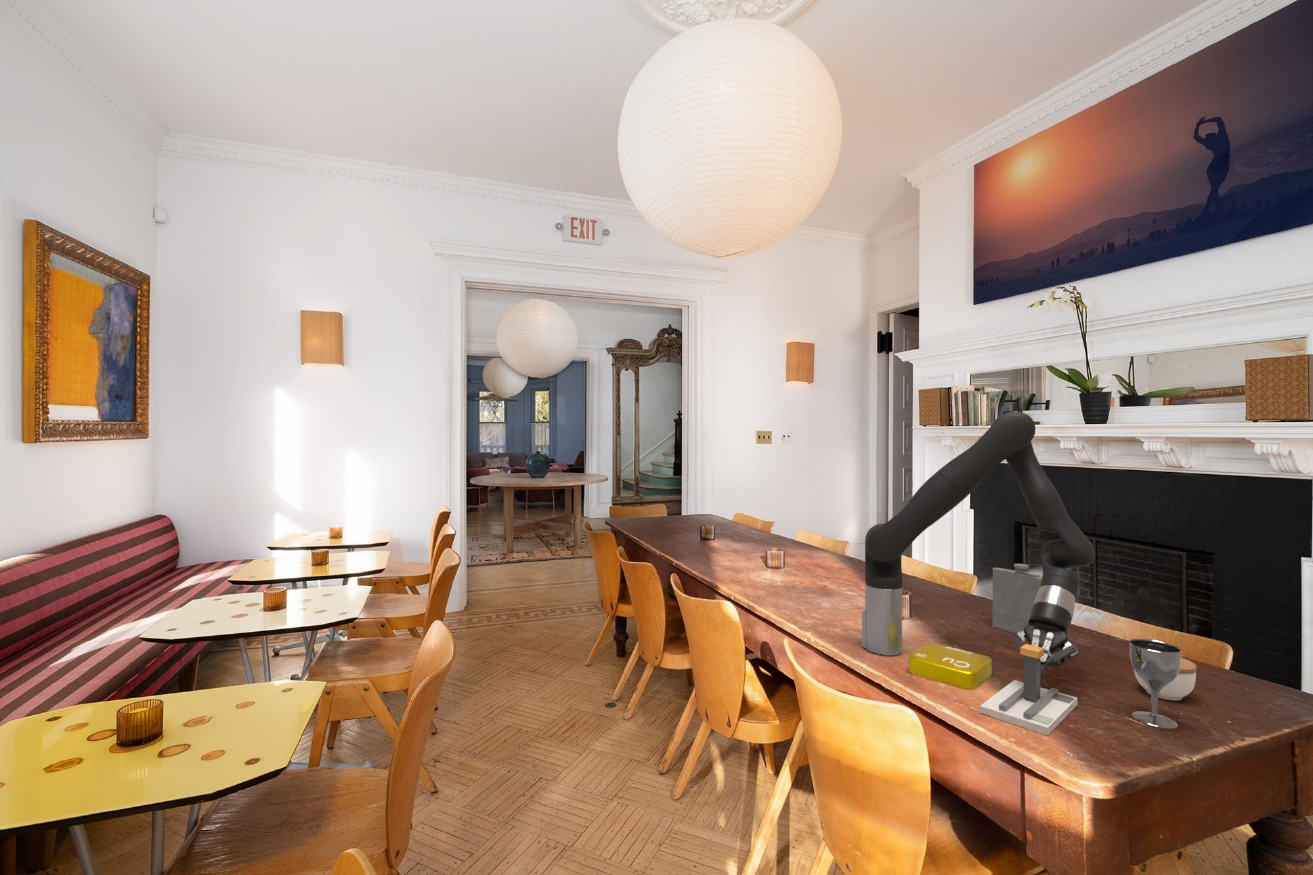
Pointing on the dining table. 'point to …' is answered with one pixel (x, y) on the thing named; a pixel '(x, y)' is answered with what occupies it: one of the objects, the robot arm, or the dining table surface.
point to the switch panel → (1029, 708)
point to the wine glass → (1155, 674)
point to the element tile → (951, 666)
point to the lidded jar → (1176, 682)
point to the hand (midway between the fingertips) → (1034, 679)
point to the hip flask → (1013, 597)
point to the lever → (1031, 671)
